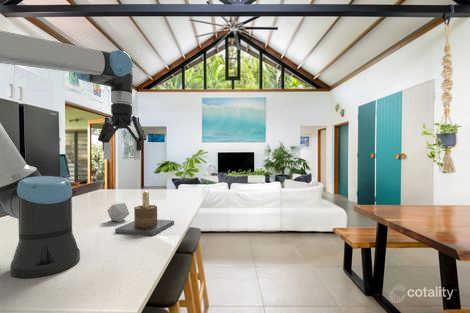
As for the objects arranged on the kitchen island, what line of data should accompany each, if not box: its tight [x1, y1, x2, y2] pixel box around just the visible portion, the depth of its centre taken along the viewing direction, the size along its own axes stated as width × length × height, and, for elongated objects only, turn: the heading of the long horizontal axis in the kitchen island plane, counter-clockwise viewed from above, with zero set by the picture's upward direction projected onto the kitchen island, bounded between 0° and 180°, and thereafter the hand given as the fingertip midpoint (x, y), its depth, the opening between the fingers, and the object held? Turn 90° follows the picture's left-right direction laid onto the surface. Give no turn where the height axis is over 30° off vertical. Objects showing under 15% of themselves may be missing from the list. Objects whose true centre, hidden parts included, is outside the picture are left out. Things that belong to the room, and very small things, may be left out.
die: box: [107, 202, 130, 223], centre depth 118 cm, size 8×9×10 cm
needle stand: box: [114, 190, 175, 236], centre depth 105 cm, size 16×16×15 cm
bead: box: [133, 204, 158, 227], centre depth 105 cm, size 8×8×7 cm
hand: (121, 159), depth 102 cm, fingers open, 13 cm apart
